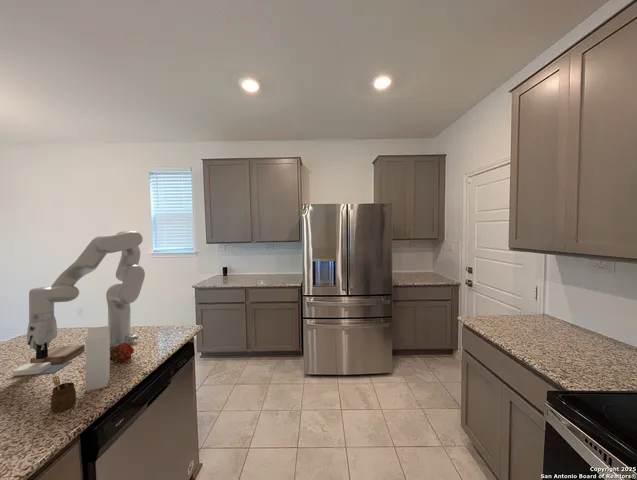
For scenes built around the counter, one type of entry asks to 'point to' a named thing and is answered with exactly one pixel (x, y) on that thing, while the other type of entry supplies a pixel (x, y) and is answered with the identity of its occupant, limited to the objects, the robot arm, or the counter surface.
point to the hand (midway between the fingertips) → (41, 358)
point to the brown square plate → (60, 354)
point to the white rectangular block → (31, 368)
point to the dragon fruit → (121, 353)
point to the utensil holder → (62, 396)
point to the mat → (53, 368)
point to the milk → (97, 358)
